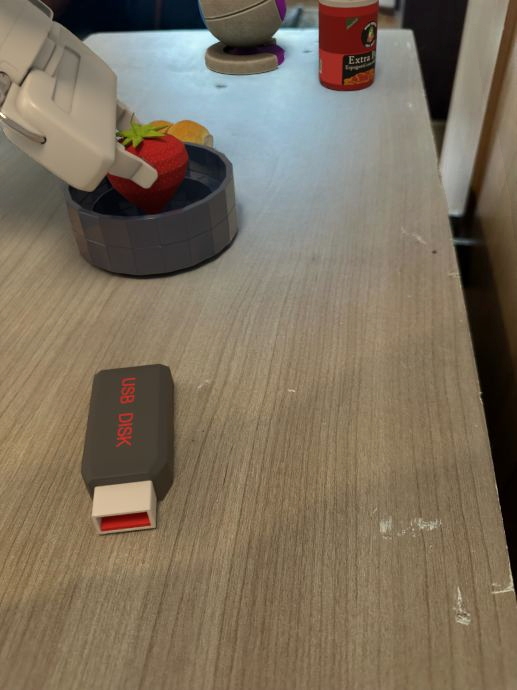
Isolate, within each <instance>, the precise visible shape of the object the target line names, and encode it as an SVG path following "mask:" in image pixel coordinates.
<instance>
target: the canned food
mask: <svg viewBox="0 0 517 690" xmlns="http://www.w3.org/2000/svg"><path fill="white" fill-rule="evenodd" d="M317 10H318V13H317V14H318V79H319V82H320V84H321V85H322V86H324V87H325V88H327V89H330V90H334V91H342V92H348V91H349V92H350V91H359V90H362V89H365V88H367V87H369V86H371V84H373V81H374V79H375V77H376V76H375V75H376V60H377V44H378V29H379V28H378V27H379V11H380V0H318V9H317Z"/></svg>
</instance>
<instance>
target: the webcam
mask: <svg viewBox="0 0 517 690" xmlns="http://www.w3.org/2000/svg"><path fill="white" fill-rule="evenodd" d="M197 4H198V10H199V14H200V18H201V19H202V22H203V24H204V26H205V27H206V29H207V30H208V32H209V33H210V34H211V36H213V37H214V38H215V39H216V40H217V42H215V43H213V44H211V45H210V46H209V47H208V48H206V50H205V53H204V62H205V66H206V68H208V69H209V70H211V71H212V72H216V73H220V74H226V75H236V76H237V75H255V74H260V73H261V74H262V73H266V72H270V71H274V70H276V69H278V68H279V67H278V66H279V65H281V64H282V63H284V61H285V49H284V48H283V46H280V45H279V44H278V42H277V38H276V37H274V36H275V34H276V33H277V32H278V31H279V29H280V28H281V26H282V25H283V23H284V21H285V18H286V15H287V10H288V8H287V3H286V0H197Z"/></svg>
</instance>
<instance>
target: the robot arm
mask: <svg viewBox="0 0 517 690" xmlns="http://www.w3.org/2000/svg"><path fill="white" fill-rule="evenodd" d="M53 18H54V12H53V10H52V9H51V8H50V7H49V6H48V5H46V4H45V3H44V2H43V1H42V0H0V123H1V124H2V130H3V131H2V132H3V133H4V134H5V136H6V137H7V139H8V140H9V141H10V142H12V144H13V145H14V146H16V147H17V148H18V149H19V150H21V151H22V152H23V153H24V154H26V155H27V156H28V157H30V158H31V159H32V160H34V161H35V162H36V163H38V164H40V165H41V166H42V167H43V168H44V169H46V170H48V171H49V172H50V173H52V174H53V175H55V176H56V177H58V178H59V179H61V180H62V181H63V182H66V183H68V184H69V185H71V186H73V187H74V188H76V189H79V190H83V191H88V192H91V191H93V190H94V189H95V188H96V187H97V186H98V185H99V183H100V182H101V181H102V179H103V178H104V177H105V175H106V174H107V173H109V174H111V175H115V176H119V177H122V178H126V179H130V180H132V181H133V182H135V183H137V184H138V185H140V186H141V187H143V188H146V189H147V188H150V187H151V186H152V184H153V183H154V182H155V181H156V179H157V177H158V172H157V167H156V165H155V164H153V163H151V162H150V161H149V160H148V159H146V158H145V157H143V156H141V157H140V158H139V157H137V156H135V155H133V154H131V153H129V152H128V151H126V150H125V147H124V146H123V145H121V144H120V143H118V142H117V141H116V140H117V137H116V133H117V132H119V131H124V130H130V129H131V124H130V121H131V118H132V114H133V112H132V110H130V108H129V106H128V107H127V105H126V104H125V103H124V102H122V101H121V100H119V99H118V95H117V94H118V76H117V74H116V73H115V72H114V70H113V69H112V68H111V67H110V66H109V64H107V63H106V61H105V60H104V59H102V57H100V56H99V55H98V54H97V53H95V51H93V50H92V49H91V48H90V47H89V46H88V45H87V44H85V43H84V42H83V41H82V40H81V39H80V38H79V37H77V36H76V35H75V34H74V33H72V32H71V31H70V30H69V29H67V27H65V26H63V25H62V24H61V23H59V22H57V21H55V20H53ZM132 122H134V123H136V124H138V125H139V126H143V125H144V124H143V123H142V122H141V121H140V120H139V118H138V117H137V116H136V115H135V114H134V116H133V119H132ZM132 122H131V123H132Z"/></svg>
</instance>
